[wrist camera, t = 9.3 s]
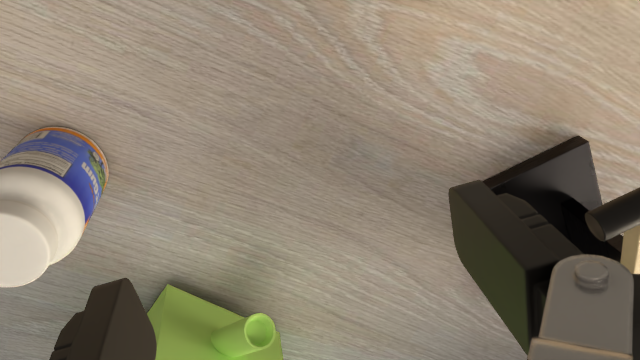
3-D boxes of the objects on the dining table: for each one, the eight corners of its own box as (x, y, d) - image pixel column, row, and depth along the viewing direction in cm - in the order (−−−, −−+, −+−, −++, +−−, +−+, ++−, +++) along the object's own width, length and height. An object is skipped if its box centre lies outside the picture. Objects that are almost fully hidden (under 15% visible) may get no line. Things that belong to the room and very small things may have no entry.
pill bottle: (106, 210, 34) (65, 307, 25) (13, 198, 33) (-63, 297, 24) (113, 131, 32) (71, 208, 23) (14, 115, 30) (-69, 191, 22)
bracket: (462, 191, 38) (554, 293, 27) (578, 135, 37) (717, 217, 27) (504, 305, 43) (595, 427, 33) (606, 258, 43) (731, 366, 32)
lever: (577, 199, 24) (613, 238, 22) (680, 150, 24) (724, 186, 22) (577, 323, 33) (602, 357, 31) (650, 289, 33) (679, 321, 31)
